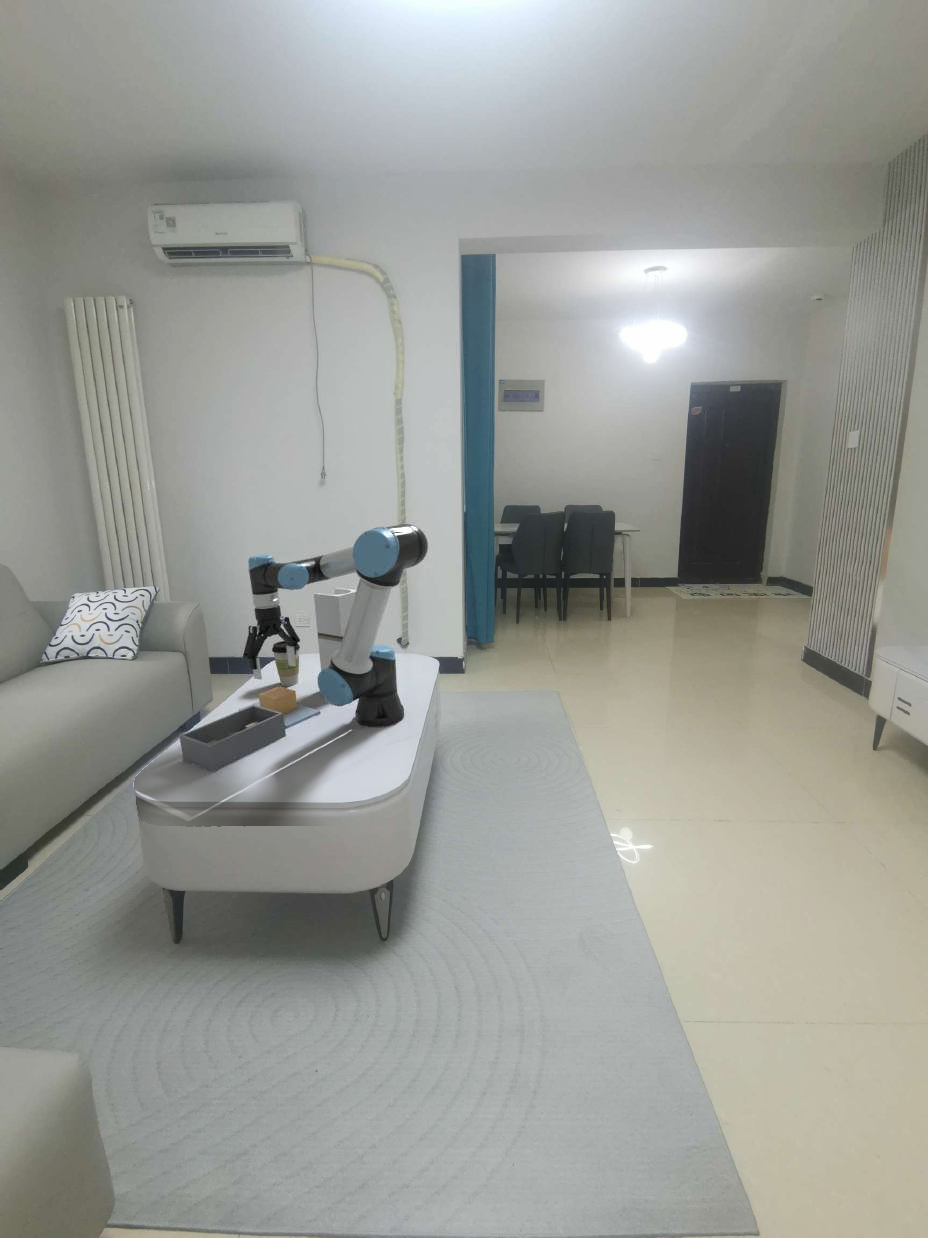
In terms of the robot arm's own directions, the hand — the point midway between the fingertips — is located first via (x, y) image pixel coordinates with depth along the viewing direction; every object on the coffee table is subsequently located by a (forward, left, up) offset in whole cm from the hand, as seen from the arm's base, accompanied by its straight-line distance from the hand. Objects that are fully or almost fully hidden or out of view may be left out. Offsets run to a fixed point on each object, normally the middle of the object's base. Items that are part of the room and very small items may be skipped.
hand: (275, 672), depth 185 cm
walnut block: (-9, +30, -14) cm, 34 cm away
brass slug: (-9, +23, -14) cm, 28 cm away
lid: (0, 0, -14) cm, 14 cm away
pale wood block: (-9, +16, -14) cm, 23 cm away
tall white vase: (-2, -28, -15) cm, 32 cm away
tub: (-9, +23, -15) cm, 29 cm away
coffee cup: (+20, -22, -15) cm, 33 cm away
